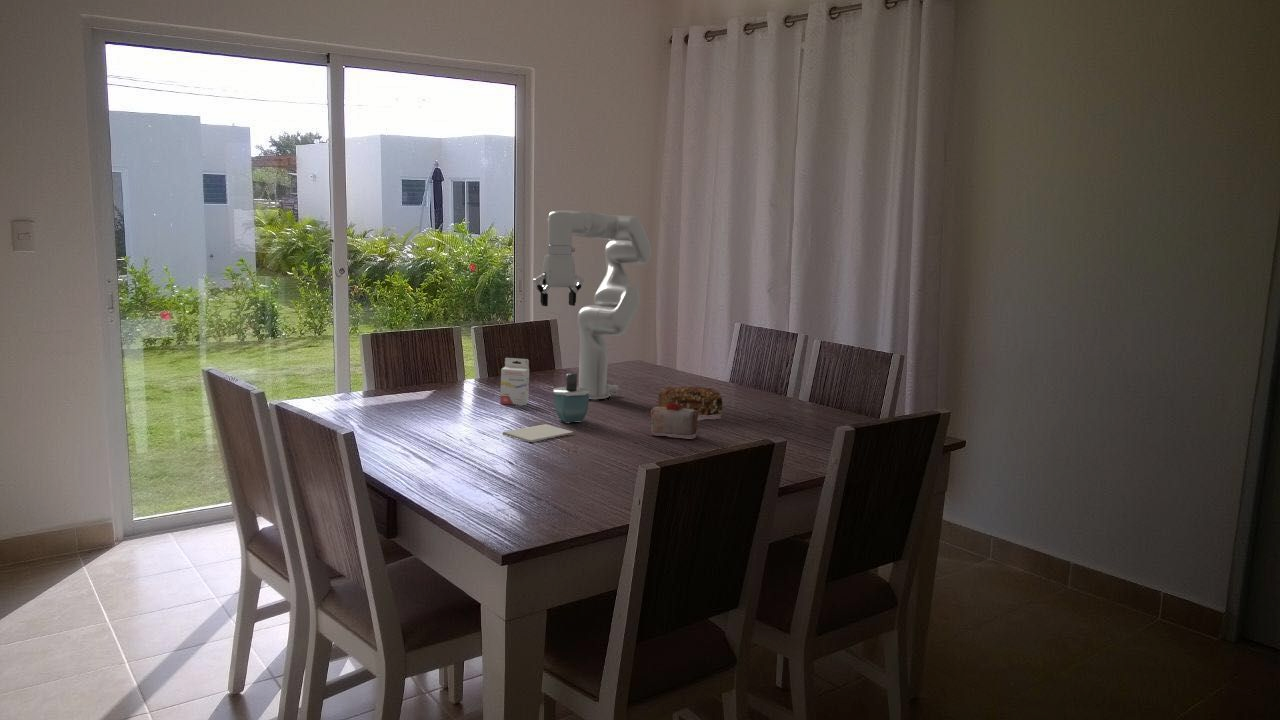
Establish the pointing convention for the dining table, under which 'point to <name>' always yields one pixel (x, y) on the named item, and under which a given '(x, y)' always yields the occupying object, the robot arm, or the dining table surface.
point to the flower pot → (571, 407)
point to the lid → (571, 387)
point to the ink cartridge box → (515, 382)
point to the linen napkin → (536, 432)
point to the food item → (674, 420)
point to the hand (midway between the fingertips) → (558, 305)
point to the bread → (692, 399)
